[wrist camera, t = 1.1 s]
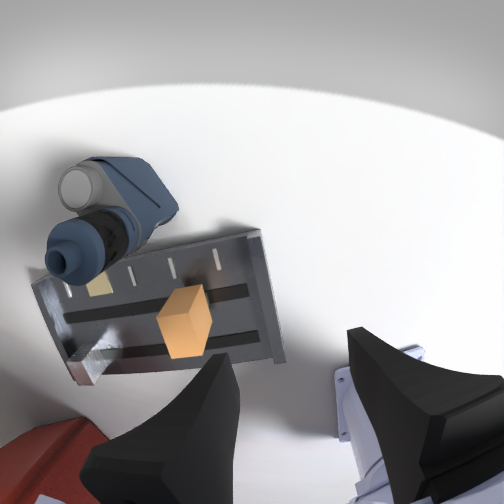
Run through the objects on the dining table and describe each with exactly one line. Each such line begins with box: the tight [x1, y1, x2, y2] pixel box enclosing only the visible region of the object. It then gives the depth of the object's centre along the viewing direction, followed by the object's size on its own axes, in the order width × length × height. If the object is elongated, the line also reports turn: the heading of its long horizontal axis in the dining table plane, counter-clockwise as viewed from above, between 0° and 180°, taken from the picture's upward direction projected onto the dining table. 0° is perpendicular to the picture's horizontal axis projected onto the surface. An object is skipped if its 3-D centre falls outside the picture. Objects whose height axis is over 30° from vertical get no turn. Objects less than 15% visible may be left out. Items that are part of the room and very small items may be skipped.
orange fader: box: [156, 284, 212, 359], centre depth 18 cm, size 3×2×5 cm
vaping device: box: [45, 157, 179, 286], centre depth 14 cm, size 3×5×12 cm, turn 34°
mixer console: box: [31, 229, 286, 386], centre depth 20 cm, size 9×18×4 cm, turn 102°
